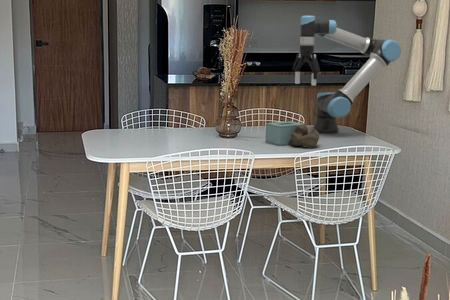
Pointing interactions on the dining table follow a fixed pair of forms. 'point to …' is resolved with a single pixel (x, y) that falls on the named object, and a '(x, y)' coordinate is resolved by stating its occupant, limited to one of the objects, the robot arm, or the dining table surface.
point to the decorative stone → (304, 137)
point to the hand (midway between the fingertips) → (305, 84)
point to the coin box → (280, 132)
